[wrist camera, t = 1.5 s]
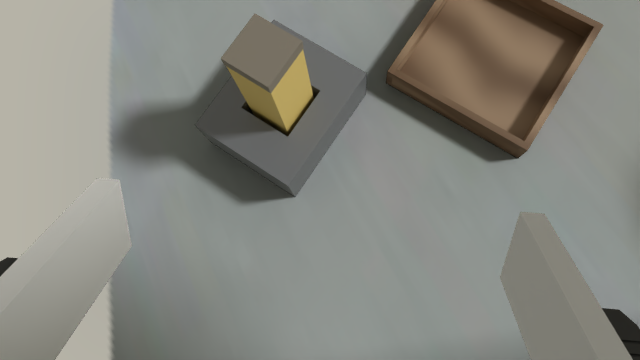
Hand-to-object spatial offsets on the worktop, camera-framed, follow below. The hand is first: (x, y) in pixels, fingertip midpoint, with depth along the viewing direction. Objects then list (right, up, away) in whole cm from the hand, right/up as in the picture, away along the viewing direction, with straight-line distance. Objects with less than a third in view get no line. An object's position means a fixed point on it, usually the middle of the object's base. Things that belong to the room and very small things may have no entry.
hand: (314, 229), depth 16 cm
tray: (+16, +13, +30) cm, 36 cm away
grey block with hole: (-3, +8, +30) cm, 31 cm away
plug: (-3, +8, +29) cm, 30 cm away
